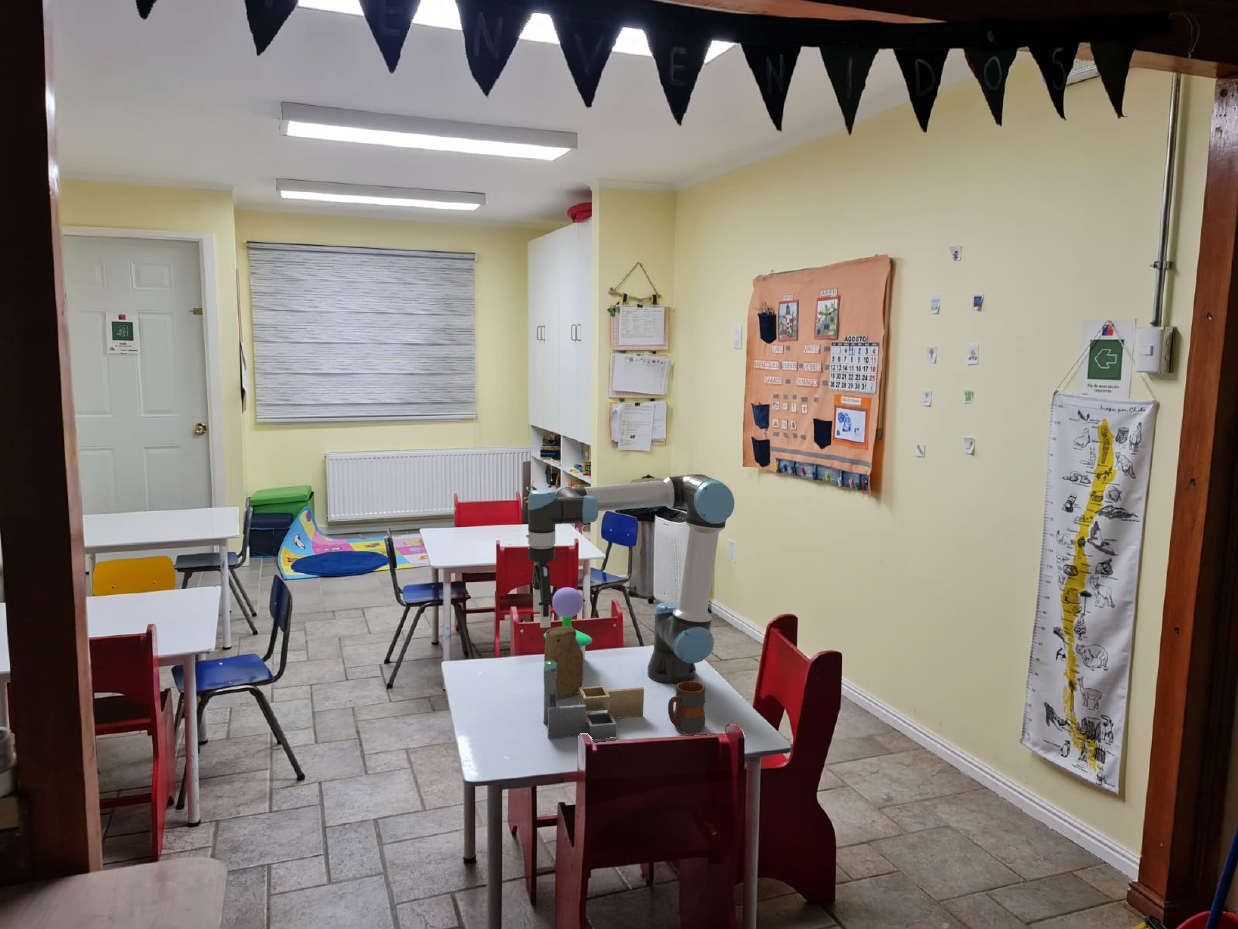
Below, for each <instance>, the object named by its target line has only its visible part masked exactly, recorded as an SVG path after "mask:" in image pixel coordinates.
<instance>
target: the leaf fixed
mask: <svg viewBox="0 0 1238 929" xmlns="http://www.w3.org/2000/svg"><path fill="white" fill-rule="evenodd" d="M617 728H618V726H617V722H616V720H615V718H613V716H612V714H611V713H610V712H608V713H607V712H598V713H589V714H588V713H587V712H586V705H580V704H577V705H573V704H572V705H564V706H556V707H548V725H547V738H548V739H549V740H550V739H561V738H573V737H579V736H578V735H579V734H580V733H588V734H589V735H590V736H591V737H592V739H593V740H592V741H597V740H607V739H606V738H610V737H616V738H617ZM610 739H611V738H610Z"/></svg>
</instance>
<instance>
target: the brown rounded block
mask: <svg viewBox="0 0 1238 929" xmlns="http://www.w3.org/2000/svg"><path fill="white" fill-rule="evenodd" d="M575 630H576V629H575V627H570V626H563V627H562V626H556V627H552V628H551V627H550V628H548V629H546V631H545V633H546V639H545V643H544V656H543V659H544V660H543V661H544V662H543V664H544V663H545V661H549V660H553V661H556V662H557V699H566V698H571V696H575V695H577V694H579V688H583V687H582V686H583V680H584V659H583V653H582V650H581V648H580V646H579V643H578V642H577V640H576V631H575Z"/></svg>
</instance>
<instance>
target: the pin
mask: <svg viewBox="0 0 1238 929" xmlns="http://www.w3.org/2000/svg"><path fill="white" fill-rule="evenodd" d="M543 664H544V666H543V724H545V725H547V726H548V707H557V699H558V698H557V662H556V661H553V660H549V661H545V663H544V662H543Z"/></svg>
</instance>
